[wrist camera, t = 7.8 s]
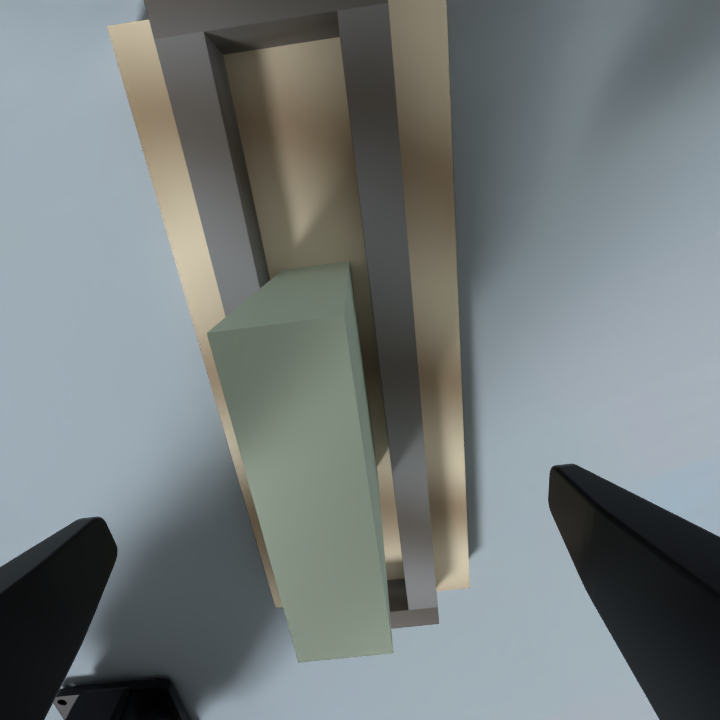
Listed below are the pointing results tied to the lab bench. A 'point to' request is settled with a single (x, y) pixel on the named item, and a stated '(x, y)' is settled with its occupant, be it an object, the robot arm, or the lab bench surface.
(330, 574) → the door panel
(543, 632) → the lab bench surface
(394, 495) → the track
